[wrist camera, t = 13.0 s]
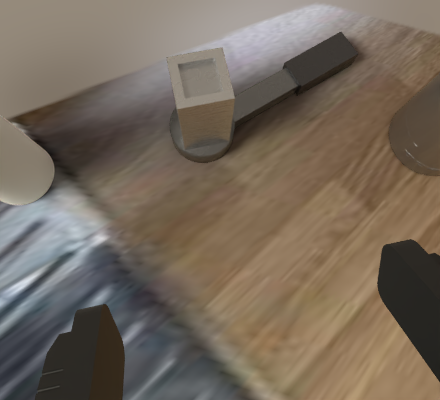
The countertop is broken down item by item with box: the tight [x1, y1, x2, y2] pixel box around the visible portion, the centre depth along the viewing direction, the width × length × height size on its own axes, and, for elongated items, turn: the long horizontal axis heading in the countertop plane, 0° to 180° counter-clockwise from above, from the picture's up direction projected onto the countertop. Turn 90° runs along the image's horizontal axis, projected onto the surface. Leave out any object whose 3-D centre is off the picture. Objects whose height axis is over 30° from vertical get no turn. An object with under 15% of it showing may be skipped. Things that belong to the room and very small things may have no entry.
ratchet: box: [170, 32, 358, 163], centre depth 41 cm, size 24×7×6 cm, turn 122°
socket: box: [166, 48, 235, 150], centre depth 35 cm, size 5×5×10 cm
